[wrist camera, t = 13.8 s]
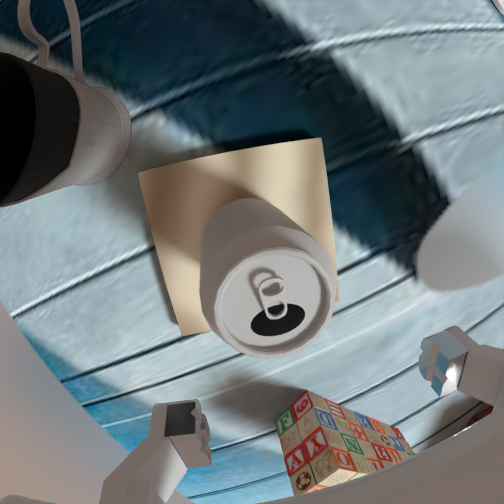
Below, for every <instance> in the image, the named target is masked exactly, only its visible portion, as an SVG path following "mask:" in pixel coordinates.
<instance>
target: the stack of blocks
mask: <svg viewBox="0 0 504 504" xmlns="http://www.w3.org/2000/svg"><path fill="white" fill-rule="evenodd" d="M275 425H276V429H277V433H278V437H279V438H280V443H281V447H282V451H283V454H284V461H285V464H286V468H287V471H288V476H289V477H290V481H291V485H292V489H293V493H294V496H296V495H300V494H305V493H309V492H312V491H316V490H320V489H323V488H327V487H330V486H334V485H337V484H340V483H343V482H346V481H350V480H353V479H355V478H358V477H361V476H364V475H367V474H370V473H372V472H375V471H378V470H380V469H383V468H385V467H388V466H390V465H393V464H395V463H397V462H400V461H402V460H404V459H407V458H409V457H411V456H413V455H416V454H415V453H414V452H413V450H412V449H411V447H410V446H409V444H408V442H406V440H405V438H404V437H403V435H402V434H401V432H400V431H399V429H396V428H393V427H390V426H389V425H387V424H384V423H382V422H378V421H377V420H374V419H372V418H370V417H366V416H364V415H361V414H359V413H356V412H353V411H351V410H349V409H346V408H344V407H342V406H340V405H338V404H336V403H334V402H332V401H330V400H327V399H325V398H323V397H321V396H319V395H317V394H315V393H313V392H310V391H308V390H307V391H306V392H305V393H303V394H302V395H301V396H300V397H299V398H298V399H297V400H296V401H295V402H294V403H293V404H292V405H291V406H290V407H289V408H288V409H287V410H286V411H285V412H284V413H283V414H282V415H281V416H279V417H278V418H277V419H276V420H275Z"/></svg>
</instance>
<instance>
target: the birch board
mask: <svg viewBox="0 0 504 504" xmlns="http://www.w3.org/2000/svg"><path fill="white" fill-rule="evenodd" d="M138 178H139V182H140V187H141V191H142V195H143V200H144V204H145V208H146V212H147V216H148V220H149V224H150V228H151V232H152V236H153V240H154V243H155V247H156V251H157V255H158V258H159V262H160V265H161V269H162V272H163V276H164V279H165V283H166V286H167V290H168V293H169V296H170V299H171V303H172V306H173V309H174V312H175V315H176V319H177V322H178V325H179V328H180V331H181V334H182V336H185V335H190V334H195V333H201V332H206V331H211V328H210V326H209V324H208V323H207V321H206V319H205V317H204V315H203V313H202V308H201V301H200V294H199V287H200V256H201V240H202V236H203V231H204V227H205V226H206V224H207V223H208V221H209V219H210V218H211V216H212V215H213V214H214V213H215V212H216V211H217V210H219V209H220V208H221V207H222V206H223V205H225V204H228V203H230V202H232V201H235V200H237V199H247V198H255V199H259V200H263V201H267V202H269V203H270V204H272V205H274V206H275V207H277V208H278V209H280V210H281V211H282V212H283V213H285V214H286V215H287V216H288V217H289V218H291V219H292V220H293V221H294V222H295V223H297V224H298V225H299V226H300V227H301V228H303V229H304V230H305V231H306V232H307V233H308V234H310V235H311V236H312V237H313V238H314V239H315V240H317V241H318V242H319V243H320V245H321V246H322V247H323V249H324V250H325V251H326V253H327V254H328V255H329V257H330V258H331V260H332V264H333V267H334V270H335V274H336V296H335V302H336V301H339V295H338V281H337V268H336V256H335V244H334V234H333V224H332V215H331V206H330V198H329V190H328V182H327V174H326V167H325V160H324V153H323V147H322V140H321V138H312V139H305V140H297V141H290V142H283V143H277V144H270V145H264V146H258V147H252V148H247V149H241V150H235V151H230V152H225V153H220V154H215V155H210V156H205V157H200V158H195V159H191V160H186V161H182V162H177V163H173V164H169V165H165V166H160V167H156V168H152V169H148V170H144V171H141V172H138Z"/></svg>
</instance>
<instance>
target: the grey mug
mask: <svg viewBox="0 0 504 504" xmlns="http://www.w3.org/2000/svg"><path fill="white" fill-rule="evenodd" d="M63 1H64V4H65V7H66V10H67V14H68V18H69V22H70V29H71V39H72V51H73V66H74V75H75V79H73V78H71V77H69V76H67V75H64V74H62V73H60V72H58V71H56V70H52V69H48V68H46V67H47V63H48V58H49V44H48V42H47V40H46V39H45V38H44V37H42V36H41V35H40V34H39V33H38V32H37V31H36V30H35V29H34V27H33V25H32V23H31V18H30V0H19V3H18V22H19V26H20V29H21V31H22V32H23V34H24V36H25V37H27V38H28V39H29V40H30V41H32V42H33V43H35V44H36V45H37V47H38V49H39V57H38V62H37V65H35V64H33V63H30V62H28V61H25V60H23V59H21V58H18V57H16V56H14V55H11V54H8V53H2V52H0V207H6V206H10V205H14V204H17V203H21V202H23V201H26V200H29V199H32V198H35V197H37V196H40V195H43V194H46V193H49V192H52V191H55V190H58V189H61V188H64V187H68V186H71V185H78V186H82V185H91V184H95V183H98V182H100V181H102V180H104V179H105V178H107V177H109V176H110V175H111V174H112V173H113V172H114V171H115V170H116V169H117V168H118V167H119V165H120V164H121V163H122V161H123V159H124V158H125V156H126V154H127V151H128V149H129V145H130V141H131V131H132V128H131V120H130V116H129V113H128V111H127V109H126V107H125V105H124V103H123V102H122V101H121V99H120V98H119V97H117V96H116V95H115V94H114V93H112V92H110V91H109V90H106V89H103V88H100V87H89V86H87V84H86V83H85V82H84V77H83V67H82V50H81V34H80V20H79V16H78V11H77V8H76V4H75V1H74V0H63Z"/></svg>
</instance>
